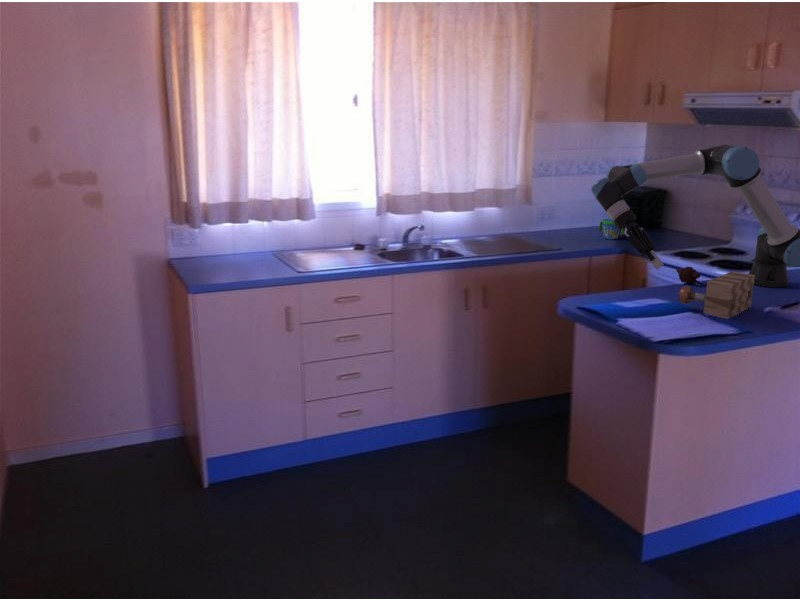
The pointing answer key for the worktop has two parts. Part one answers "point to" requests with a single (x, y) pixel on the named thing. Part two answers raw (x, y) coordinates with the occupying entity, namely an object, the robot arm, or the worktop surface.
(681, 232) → the worktop surface
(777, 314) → the worktop surface
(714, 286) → the block
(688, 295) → the terracotta knob
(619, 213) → the robot arm
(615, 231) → the snack cup
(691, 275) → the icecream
